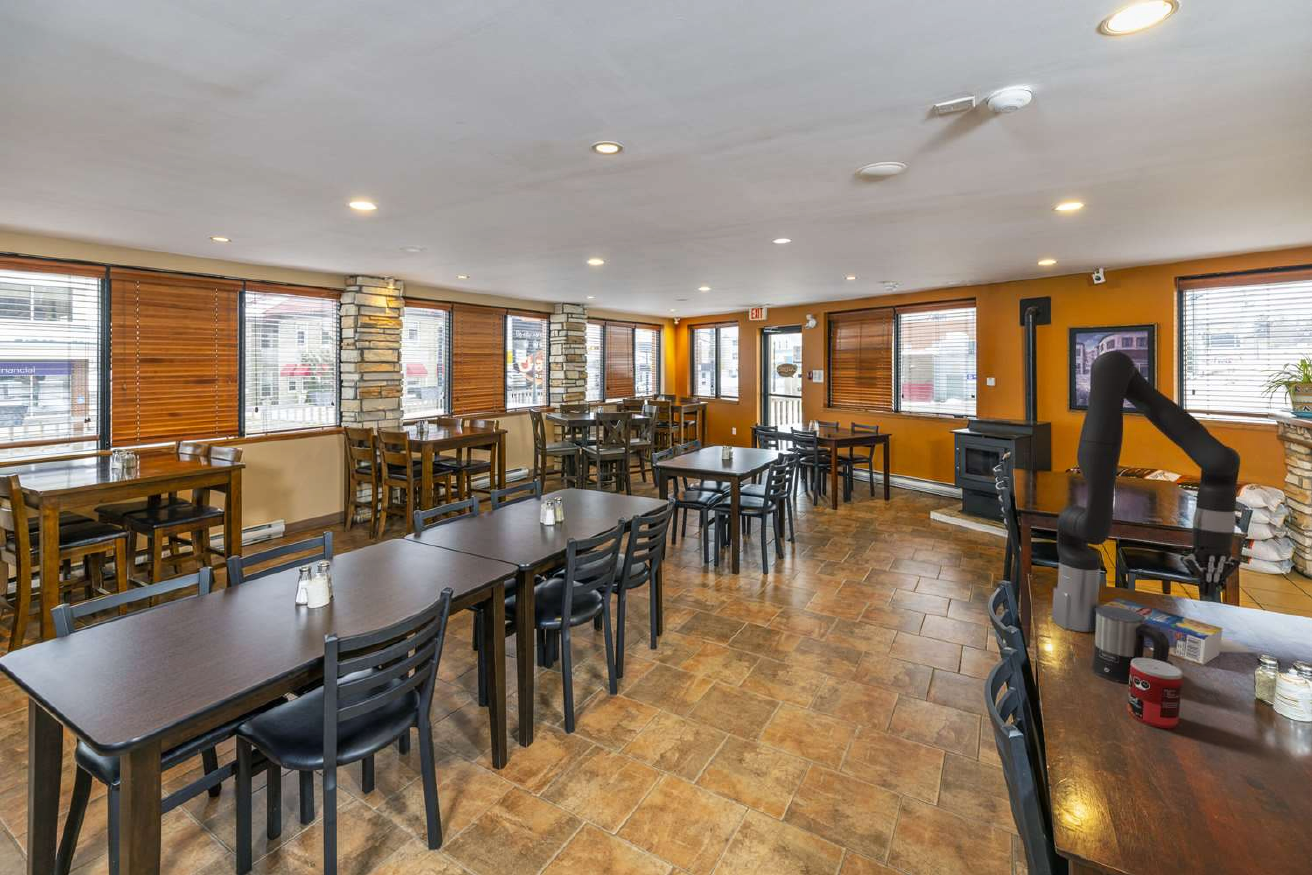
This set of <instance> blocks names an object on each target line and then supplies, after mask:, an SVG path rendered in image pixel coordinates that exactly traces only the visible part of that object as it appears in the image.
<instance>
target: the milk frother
mask: <svg viewBox="0 0 1312 875" xmlns="http://www.w3.org/2000/svg"><path fill="white" fill-rule="evenodd" d="M1095 610H1096V612H1097V618H1096V629H1095V634H1094V638H1095V639H1094V653H1093V662H1092V665H1091V669H1092V671H1093V673H1095V674H1096V675H1098V676H1099V677H1102V678H1104V679H1107V680H1109V681H1114V682H1118V683H1124V684H1129V676H1130V666H1131V660H1132V659H1134V658H1149V659H1154V660H1159V661H1162V662H1165V663H1168V664H1170V665H1173V666H1175V665H1174V664H1173V661H1171V660H1168V658H1169V654H1168V653H1169V641H1168V639H1167V637H1166V636H1165V635H1164V634H1163V633H1162V632H1161V631H1159V630H1158V629H1156V628H1153V627H1151V626H1148V625H1145V624H1144V620H1145V619H1146V617H1145V616H1144V615H1142V614H1141V613H1138V612H1136V611H1133V610H1130V609H1125V608H1121V607H1114V606H1101V605H1099V606H1097V607H1096V609H1095ZM1145 636H1146V637H1148V638H1150V639H1151V640H1152V641H1153V643H1154V650H1152V651H1153V654H1152V657H1149V656H1147V655H1145V656H1144V648H1145V646H1144V637H1145Z"/></svg>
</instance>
